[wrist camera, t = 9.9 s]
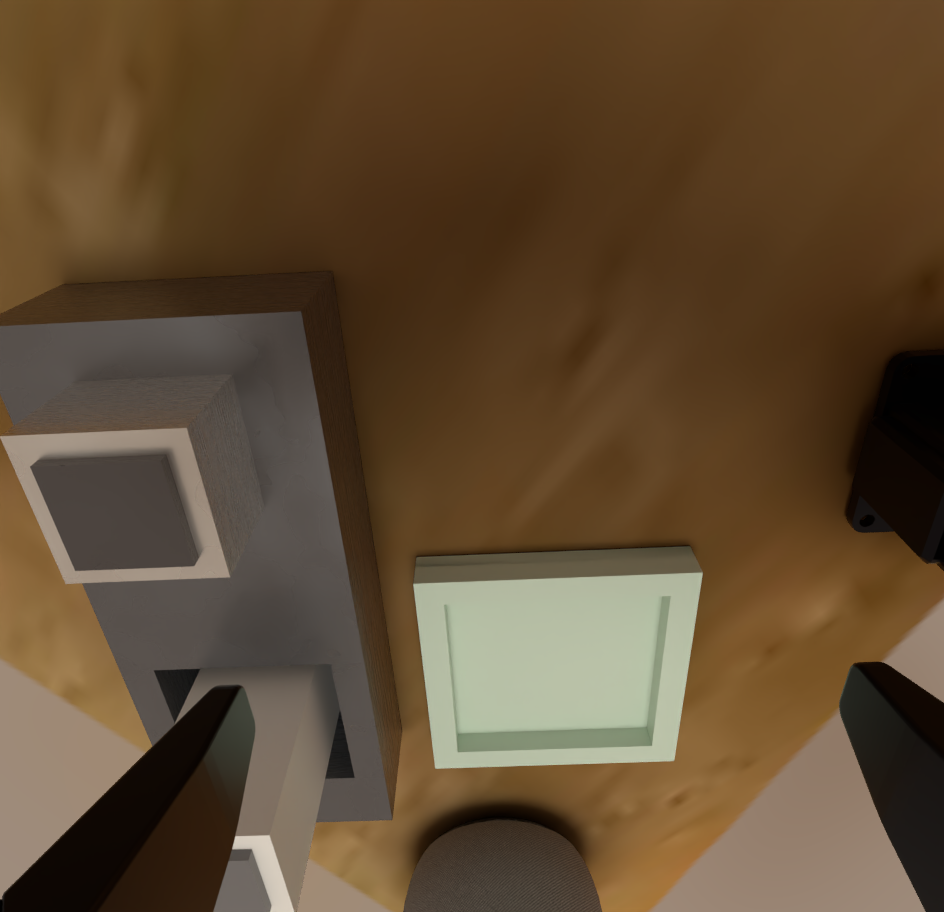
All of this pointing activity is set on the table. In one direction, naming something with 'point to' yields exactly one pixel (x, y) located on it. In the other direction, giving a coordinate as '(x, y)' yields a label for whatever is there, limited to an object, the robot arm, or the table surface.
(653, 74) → the table surface
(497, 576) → the tray
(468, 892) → the smart speaker
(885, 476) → the robot arm
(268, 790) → the plug
